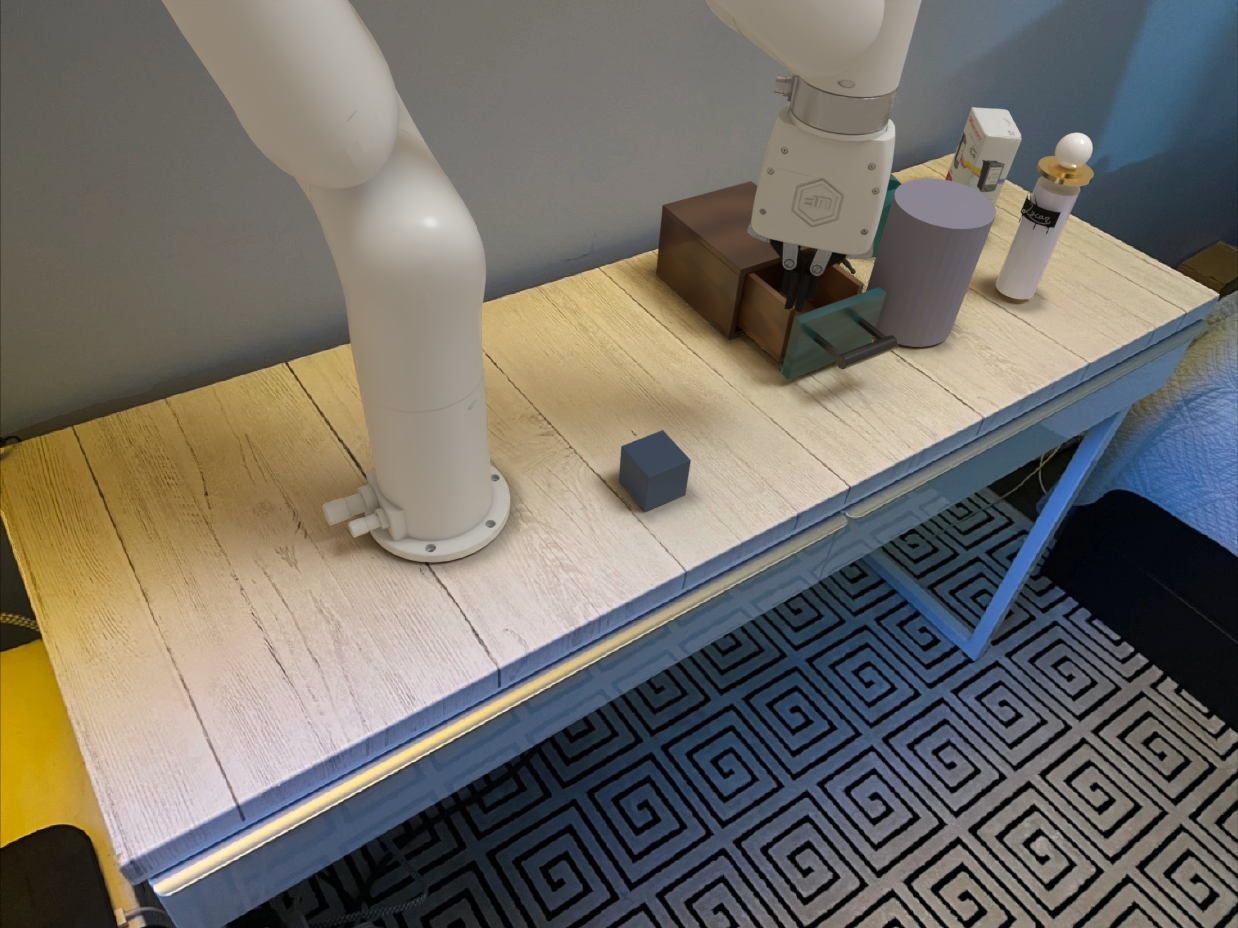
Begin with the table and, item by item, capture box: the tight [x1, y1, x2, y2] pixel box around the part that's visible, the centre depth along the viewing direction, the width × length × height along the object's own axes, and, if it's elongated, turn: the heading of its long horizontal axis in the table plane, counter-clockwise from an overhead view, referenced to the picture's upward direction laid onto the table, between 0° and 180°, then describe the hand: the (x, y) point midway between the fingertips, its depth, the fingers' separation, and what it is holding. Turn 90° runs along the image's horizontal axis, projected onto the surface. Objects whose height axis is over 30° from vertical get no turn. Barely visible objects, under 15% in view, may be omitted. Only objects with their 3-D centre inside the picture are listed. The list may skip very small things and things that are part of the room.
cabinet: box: [655, 180, 816, 341], centre depth 104 cm, size 15×13×9 cm
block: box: [618, 429, 692, 513], centre depth 83 cm, size 4×4×4 cm
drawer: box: [736, 252, 899, 381], centre depth 97 cm, size 18×11×7 cm, turn 32°
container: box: [865, 177, 997, 348], centre depth 100 cm, size 10×10×15 cm
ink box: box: [944, 106, 1022, 207], centre depth 121 cm, size 9×5×12 cm, turn 177°
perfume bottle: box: [994, 132, 1095, 300], centre depth 103 cm, size 6×6×20 cm
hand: (795, 302), depth 82 cm, fingers closed
